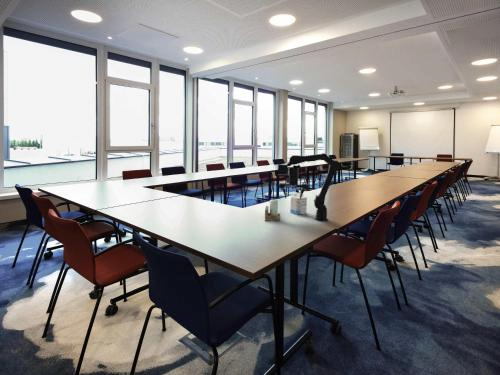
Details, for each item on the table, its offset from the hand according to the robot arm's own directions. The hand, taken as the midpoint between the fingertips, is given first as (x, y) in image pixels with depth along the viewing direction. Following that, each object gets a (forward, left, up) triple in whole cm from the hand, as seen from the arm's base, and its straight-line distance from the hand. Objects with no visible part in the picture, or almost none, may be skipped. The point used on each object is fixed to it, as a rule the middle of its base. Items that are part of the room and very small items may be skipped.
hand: (293, 199), depth 199 cm
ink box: (+11, -14, -13) cm, 22 cm away
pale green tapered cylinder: (+7, +10, -13) cm, 18 cm away
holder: (+7, +11, -13) cm, 18 cm away
